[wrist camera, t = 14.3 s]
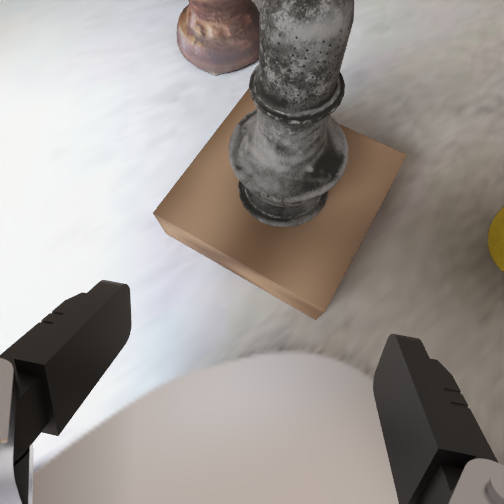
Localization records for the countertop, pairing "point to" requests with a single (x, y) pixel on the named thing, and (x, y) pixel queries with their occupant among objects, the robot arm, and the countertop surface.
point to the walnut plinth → (278, 238)
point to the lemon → (497, 239)
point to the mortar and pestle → (219, 34)
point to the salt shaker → (293, 112)
